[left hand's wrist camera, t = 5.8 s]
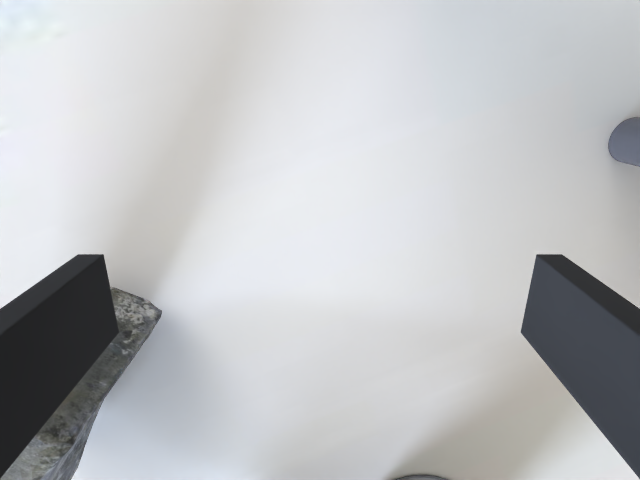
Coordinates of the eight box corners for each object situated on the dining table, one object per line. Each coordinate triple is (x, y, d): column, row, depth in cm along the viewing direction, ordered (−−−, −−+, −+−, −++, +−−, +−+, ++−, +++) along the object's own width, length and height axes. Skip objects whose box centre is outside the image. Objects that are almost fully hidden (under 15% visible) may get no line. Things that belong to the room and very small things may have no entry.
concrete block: (106, 256, 42) (-62, 391, 24) (183, 297, 44) (83, 454, 25) (22, 423, 50) (-154, 624, 32) (90, 453, 52) (-39, 659, 33)
